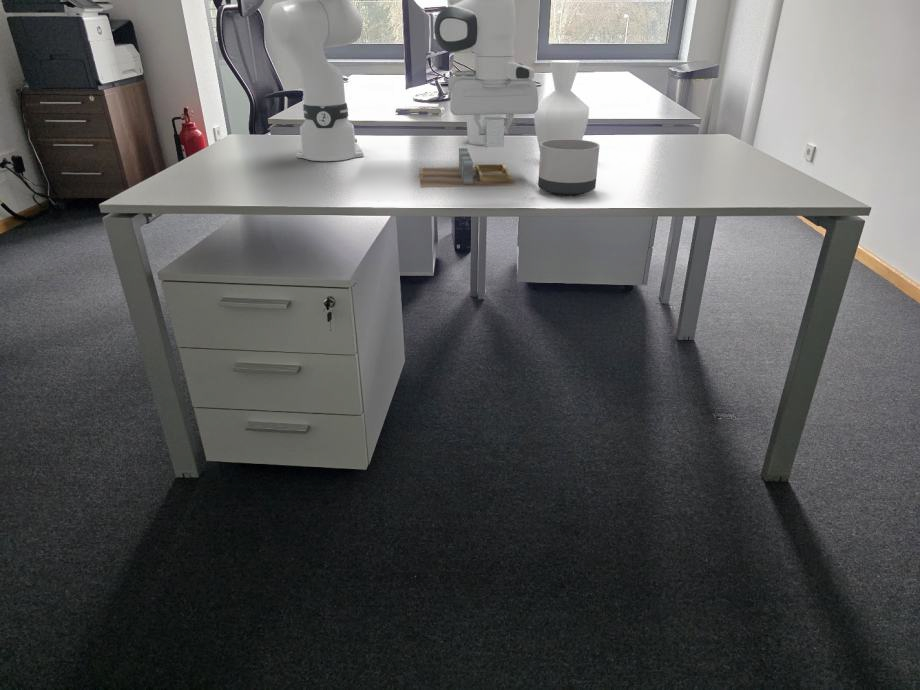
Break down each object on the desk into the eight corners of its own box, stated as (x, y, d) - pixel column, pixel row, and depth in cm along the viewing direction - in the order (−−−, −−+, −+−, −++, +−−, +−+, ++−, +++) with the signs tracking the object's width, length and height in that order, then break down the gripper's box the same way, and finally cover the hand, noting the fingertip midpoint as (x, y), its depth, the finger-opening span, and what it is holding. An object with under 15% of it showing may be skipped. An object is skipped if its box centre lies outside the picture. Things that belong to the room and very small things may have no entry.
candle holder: (467, 139, 198) (467, 99, 192) (498, 140, 197) (499, 100, 191) (463, 145, 189) (463, 103, 184) (495, 146, 188) (496, 104, 182)
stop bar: (486, 147, 141) (486, 119, 138) (482, 141, 148) (483, 114, 145) (503, 146, 141) (504, 119, 139) (499, 140, 148) (499, 114, 146)
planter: (556, 202, 132) (560, 152, 127) (527, 188, 142) (529, 141, 137) (606, 195, 137) (611, 147, 132) (574, 182, 147) (578, 137, 142)
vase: (534, 155, 175) (539, 59, 163) (584, 157, 173) (593, 59, 161) (529, 166, 163) (534, 63, 151) (583, 168, 160) (592, 63, 149)
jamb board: (419, 172, 157) (418, 147, 154) (504, 170, 158) (505, 146, 155) (420, 192, 139) (419, 164, 136) (516, 190, 140) (517, 162, 138)
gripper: (448, 71, 134) (449, 137, 140) (541, 70, 135) (538, 136, 142) (447, 69, 139) (448, 133, 146) (536, 68, 141) (533, 131, 147)
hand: (493, 134), depth 144 cm, fingers closed on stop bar, 4 cm apart
